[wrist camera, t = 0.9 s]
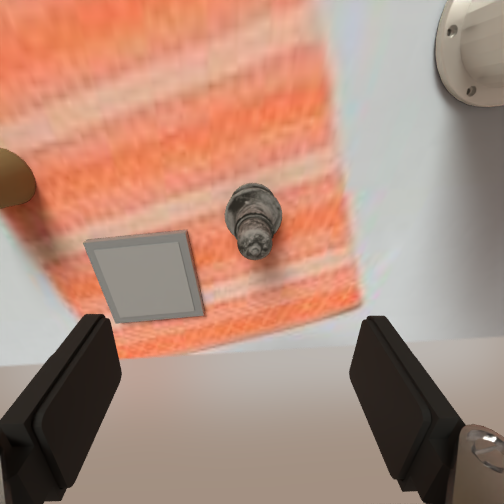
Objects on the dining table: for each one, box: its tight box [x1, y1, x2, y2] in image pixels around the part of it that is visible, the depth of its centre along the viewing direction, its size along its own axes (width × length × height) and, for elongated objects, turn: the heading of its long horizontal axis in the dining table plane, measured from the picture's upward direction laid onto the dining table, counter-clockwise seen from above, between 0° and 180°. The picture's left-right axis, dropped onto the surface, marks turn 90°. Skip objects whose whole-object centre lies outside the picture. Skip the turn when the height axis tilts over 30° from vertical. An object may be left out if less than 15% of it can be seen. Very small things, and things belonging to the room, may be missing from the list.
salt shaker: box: [225, 183, 282, 260], centre depth 27 cm, size 6×6×12 cm
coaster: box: [83, 230, 205, 323], centre depth 36 cm, size 12×12×1 cm
